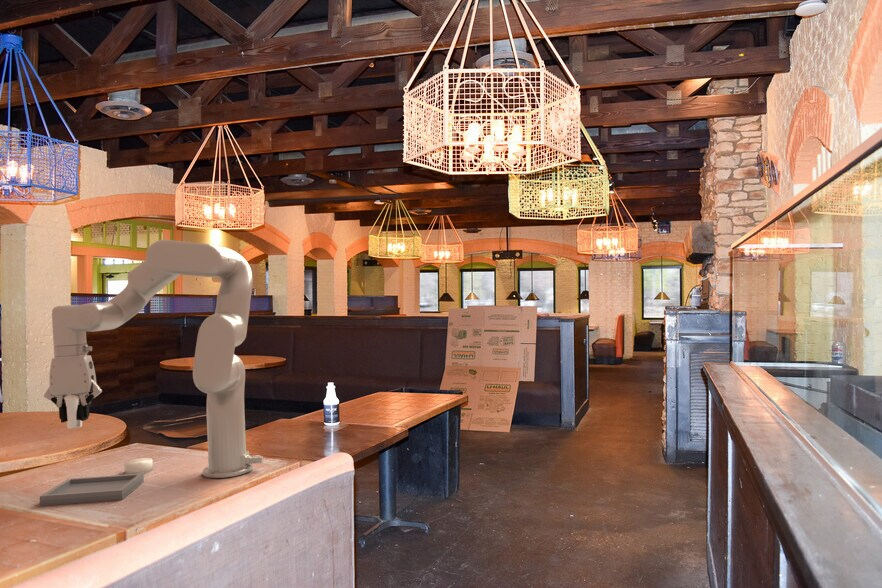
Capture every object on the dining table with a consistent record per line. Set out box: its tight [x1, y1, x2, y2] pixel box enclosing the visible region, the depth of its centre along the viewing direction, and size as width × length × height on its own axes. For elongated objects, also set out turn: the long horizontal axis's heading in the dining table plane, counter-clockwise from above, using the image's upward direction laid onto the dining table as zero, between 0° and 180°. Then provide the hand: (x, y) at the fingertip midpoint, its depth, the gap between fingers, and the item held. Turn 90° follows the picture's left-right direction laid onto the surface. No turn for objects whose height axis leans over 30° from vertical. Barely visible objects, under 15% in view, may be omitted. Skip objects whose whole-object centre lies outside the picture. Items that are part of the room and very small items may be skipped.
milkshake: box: [64, 394, 83, 430], centre depth 164 cm, size 4×5×10 cm
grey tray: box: [39, 473, 145, 507], centre depth 150 cm, size 18×14×2 cm
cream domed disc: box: [123, 457, 154, 475], centre depth 168 cm, size 7×7×3 cm
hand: (74, 420), depth 164 cm, fingers closed on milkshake, 4 cm apart
